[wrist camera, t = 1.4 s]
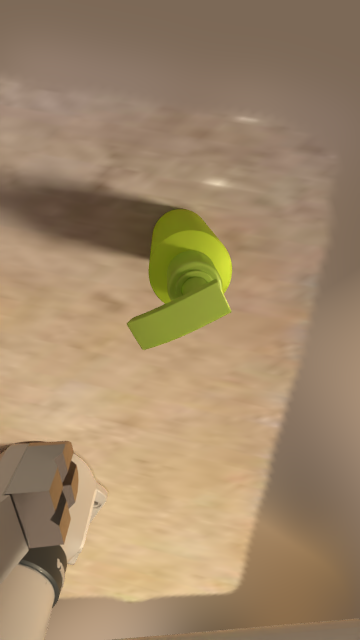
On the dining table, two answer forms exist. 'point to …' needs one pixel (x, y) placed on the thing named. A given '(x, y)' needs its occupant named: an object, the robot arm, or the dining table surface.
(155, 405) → the dining table surface
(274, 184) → the dining table surface
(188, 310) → the soap dispenser
